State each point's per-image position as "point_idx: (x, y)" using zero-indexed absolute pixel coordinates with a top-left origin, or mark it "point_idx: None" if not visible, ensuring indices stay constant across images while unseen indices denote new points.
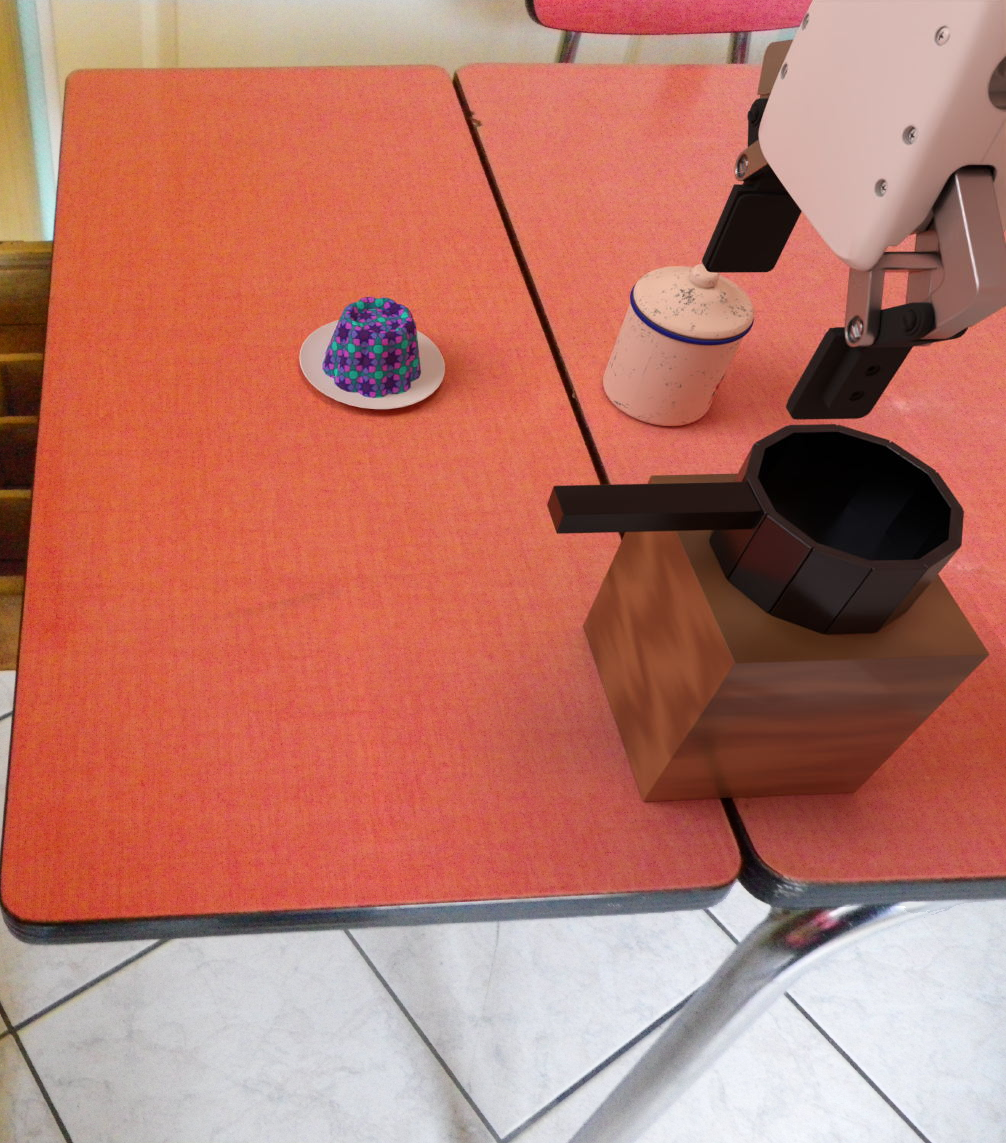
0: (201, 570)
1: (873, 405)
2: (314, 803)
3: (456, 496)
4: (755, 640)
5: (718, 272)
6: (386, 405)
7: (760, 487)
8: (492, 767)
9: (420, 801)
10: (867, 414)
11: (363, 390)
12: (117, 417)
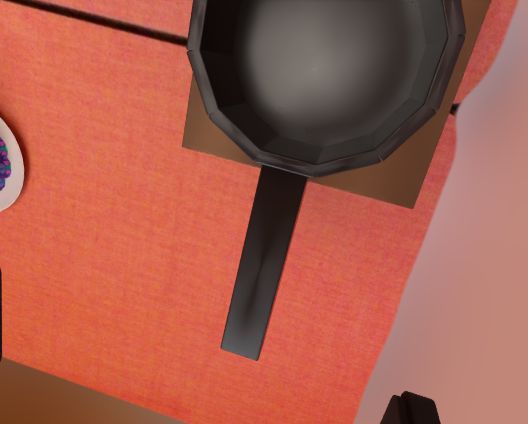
0: (150, 332)
1: (435, 415)
2: (320, 339)
3: (111, 153)
4: (398, 175)
5: (1, 350)
6: (19, 167)
7: (276, 158)
8: (332, 238)
9: (339, 288)
10: (432, 400)
11: (4, 177)
12: (24, 331)
